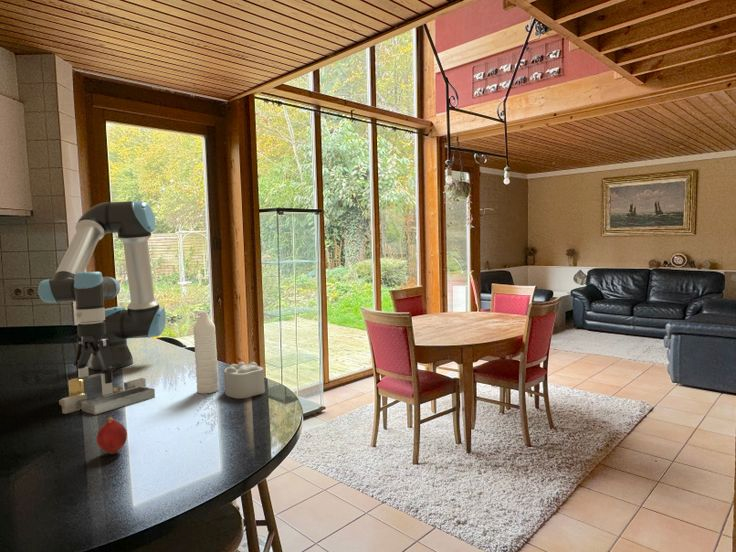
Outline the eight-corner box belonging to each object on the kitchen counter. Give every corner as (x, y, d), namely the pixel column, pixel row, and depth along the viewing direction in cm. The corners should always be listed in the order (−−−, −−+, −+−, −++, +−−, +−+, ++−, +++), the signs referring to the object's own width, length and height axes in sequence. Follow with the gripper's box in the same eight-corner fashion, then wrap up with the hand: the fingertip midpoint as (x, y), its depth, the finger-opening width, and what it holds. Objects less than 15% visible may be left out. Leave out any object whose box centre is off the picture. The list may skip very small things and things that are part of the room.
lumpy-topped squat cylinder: (238, 400, 140) (236, 370, 140) (217, 392, 150) (215, 364, 149) (269, 391, 148) (267, 363, 147) (247, 384, 157) (246, 358, 157)
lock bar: (107, 393, 153) (106, 371, 153) (114, 394, 151) (113, 372, 151) (67, 403, 143) (65, 380, 143) (74, 405, 141) (72, 382, 141)
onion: (105, 449, 108) (103, 413, 107) (132, 447, 108) (130, 412, 108) (92, 460, 102) (90, 423, 101) (121, 458, 102) (118, 421, 102)
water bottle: (221, 391, 150) (217, 311, 149) (200, 395, 147) (195, 313, 145) (213, 385, 157) (209, 309, 156) (192, 389, 154) (188, 311, 153)
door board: (128, 387, 160) (127, 375, 159) (162, 394, 149) (161, 381, 149) (48, 408, 140) (47, 394, 139) (81, 418, 129) (80, 404, 129)
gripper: (58, 322, 151) (62, 389, 152) (100, 325, 137) (105, 399, 138) (83, 319, 157) (87, 383, 158) (126, 322, 144) (130, 392, 144)
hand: (95, 391), depth 148 cm, fingers open, 13 cm apart
